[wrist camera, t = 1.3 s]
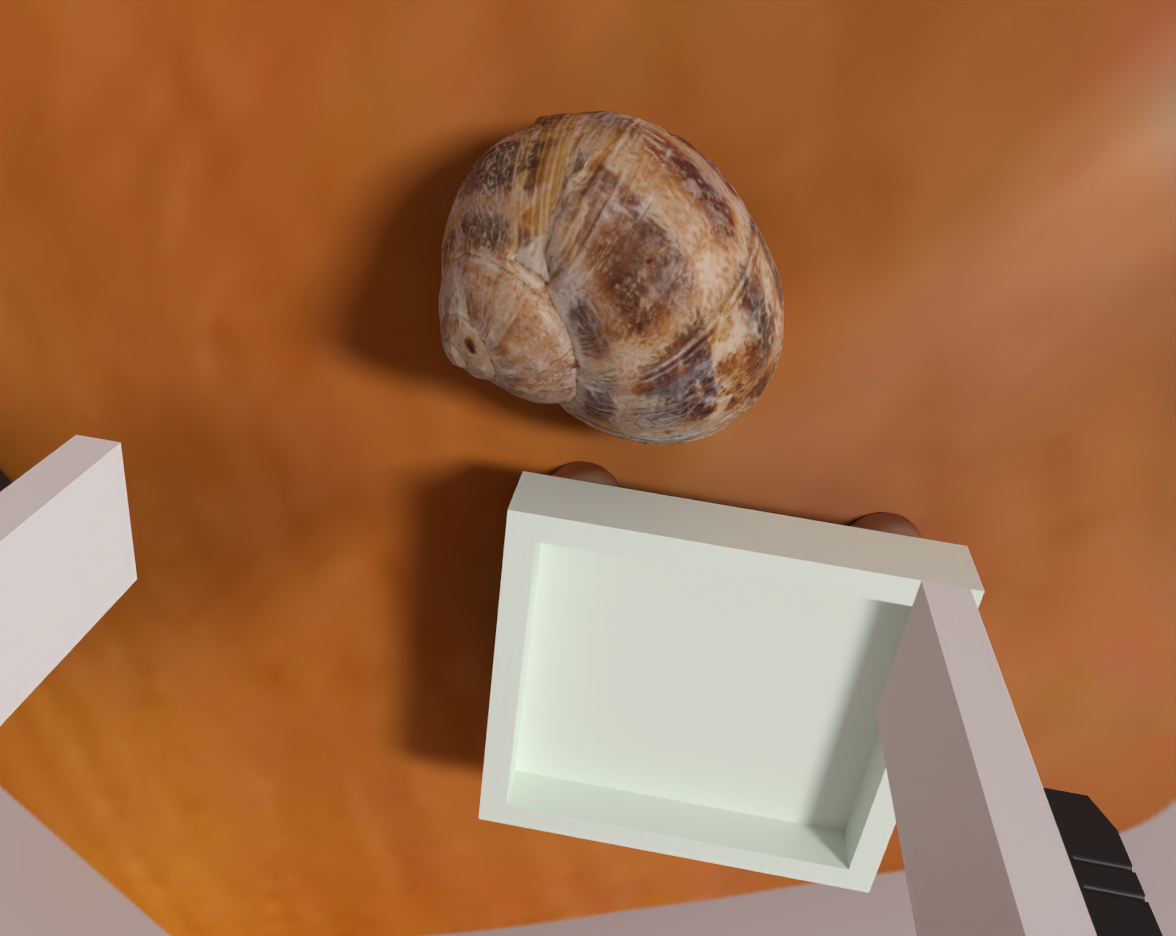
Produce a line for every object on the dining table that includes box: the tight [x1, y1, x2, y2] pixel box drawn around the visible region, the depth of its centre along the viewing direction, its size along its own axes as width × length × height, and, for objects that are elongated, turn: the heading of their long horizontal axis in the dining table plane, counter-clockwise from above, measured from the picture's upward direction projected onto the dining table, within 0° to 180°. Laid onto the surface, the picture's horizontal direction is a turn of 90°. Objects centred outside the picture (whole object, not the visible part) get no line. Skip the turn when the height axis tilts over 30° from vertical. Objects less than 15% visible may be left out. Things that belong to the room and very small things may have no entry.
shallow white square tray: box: [479, 462, 985, 893], centre depth 37 cm, size 15×14×5 cm
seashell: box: [438, 111, 784, 444], centre depth 30 cm, size 10×9×10 cm
